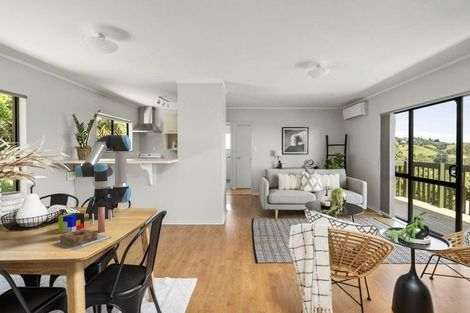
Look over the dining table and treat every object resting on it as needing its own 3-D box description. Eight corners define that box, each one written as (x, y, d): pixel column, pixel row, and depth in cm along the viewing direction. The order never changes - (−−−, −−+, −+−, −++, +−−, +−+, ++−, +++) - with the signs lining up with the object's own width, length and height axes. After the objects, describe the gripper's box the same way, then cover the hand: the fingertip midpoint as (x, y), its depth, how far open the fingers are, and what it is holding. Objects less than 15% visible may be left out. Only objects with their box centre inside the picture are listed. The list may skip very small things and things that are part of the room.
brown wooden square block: (83, 236, 151) (83, 228, 151) (97, 239, 145) (97, 232, 145) (60, 243, 140) (60, 235, 140) (74, 247, 134) (74, 239, 134)
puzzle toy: (71, 232, 160) (71, 217, 160) (58, 231, 162) (58, 216, 162) (84, 228, 170) (84, 213, 170) (71, 227, 172) (71, 212, 172)
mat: (91, 233, 158) (91, 232, 158) (112, 238, 149) (112, 237, 149) (52, 244, 139) (52, 243, 139) (74, 251, 129) (74, 250, 129)
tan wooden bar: (102, 231, 162) (102, 206, 162) (106, 232, 161) (105, 207, 160) (96, 233, 159) (96, 207, 159) (100, 233, 157) (100, 208, 157)
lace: (107, 237, 149) (107, 236, 149) (108, 237, 149) (108, 236, 149) (80, 246, 135) (80, 245, 135) (81, 246, 135) (81, 245, 135)
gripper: (113, 185, 172) (114, 216, 172) (78, 189, 150) (78, 226, 151) (121, 185, 168) (121, 218, 169) (86, 190, 147) (86, 227, 147)
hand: (101, 221), depth 160 cm, fingers open, 12 cm apart
